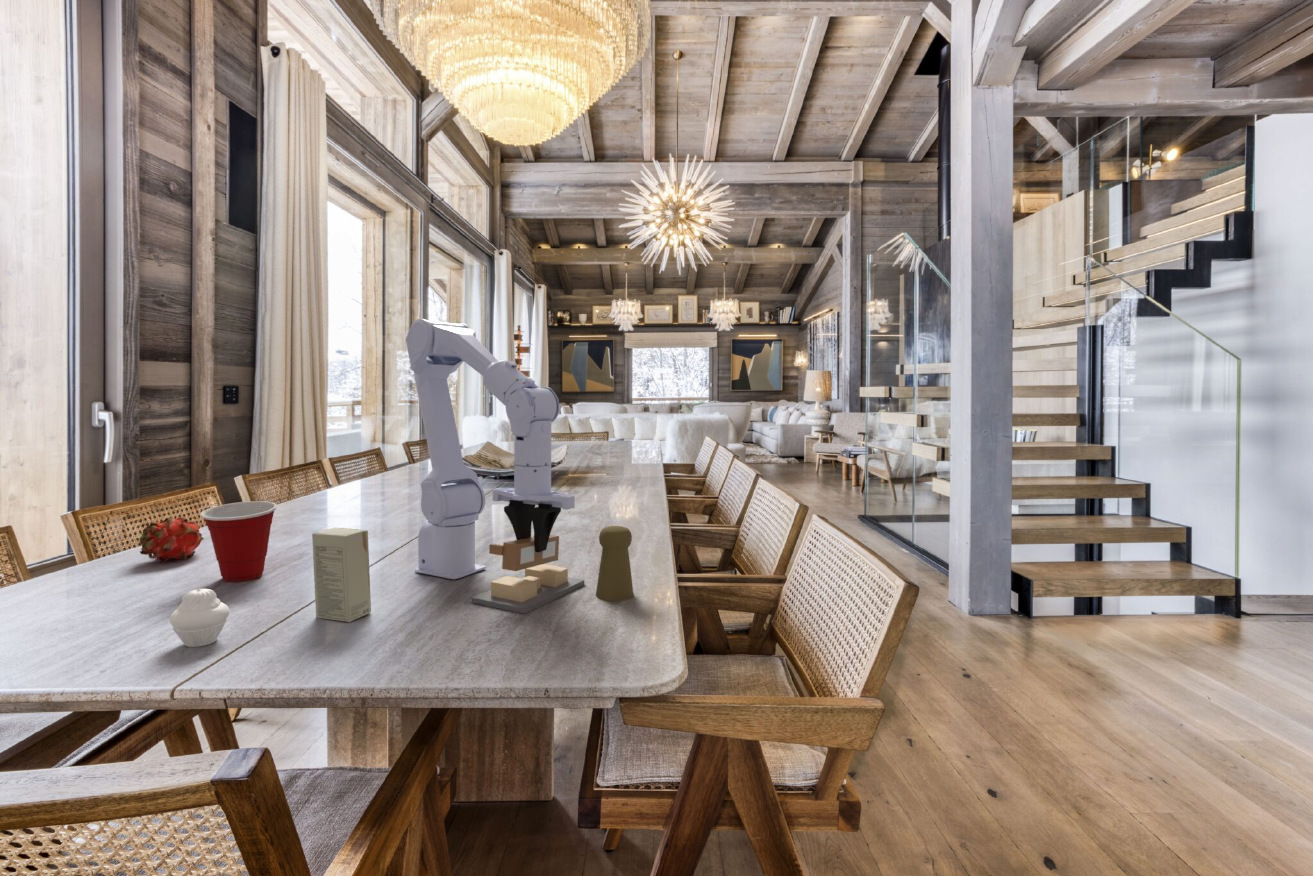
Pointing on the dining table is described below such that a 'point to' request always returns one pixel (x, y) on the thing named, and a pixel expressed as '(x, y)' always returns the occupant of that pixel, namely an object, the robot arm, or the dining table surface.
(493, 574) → the dining table surface
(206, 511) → the plastic cup
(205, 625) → the muffin
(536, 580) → the gray tray with blocks
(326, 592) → the skincare box
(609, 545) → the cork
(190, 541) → the dragon fruit
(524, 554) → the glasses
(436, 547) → the robot arm
